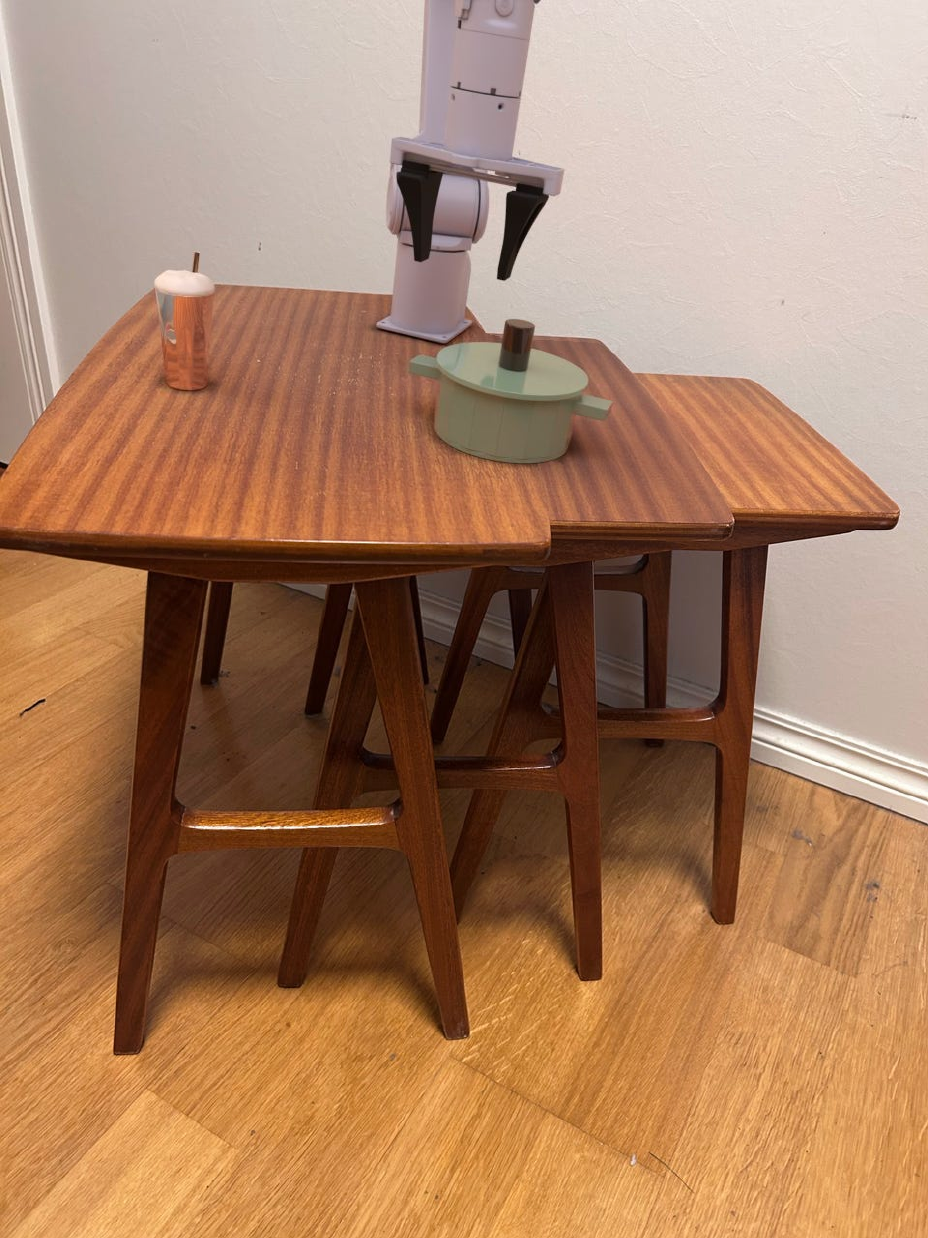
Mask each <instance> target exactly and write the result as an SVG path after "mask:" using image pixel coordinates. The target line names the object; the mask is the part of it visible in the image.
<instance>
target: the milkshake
mask: <svg viewBox="0 0 928 1238" xmlns="http://www.w3.org/2000/svg"><path fill="white" fill-rule="evenodd" d="M200 255H201V252H199V251H194V252H193V260H192V270H191V271H190V270H186V269H183V270H174V269H166V270H165V271H163V272H162V273H160V274H159V275H158V276H157V277H156V278H155V279H154V281H153V287H154V293H155V299H156V306H157V312H158V313H157V314H158V321H159V330H160V340H161V347H162V357H163V364H164V365H163V366H164V375H165V381H166V384H168V386H169V387H170V388H172V389H173V388H174V389H176V390H180V391H196V390H203V389H204V388H205V387H206V386H207V385H208V381H209V366H210V348H211V333H212V320H213V308H214V296H215V288H216V286H215V284H214V282H213V280H211V278H209V276H207V275H205V274H203V273H200V272H199V266H200V265H199V264H200V257H201V256H200Z"/></svg>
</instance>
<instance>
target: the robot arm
mask: <svg viewBox="0 0 928 1238" xmlns="http://www.w3.org/2000/svg"><path fill="white" fill-rule="evenodd" d="M540 2H541V0H424V9H423V32H422V53H421V54H422V55H421V76H420V77H421V79H420V98H419V100H420V101H419V122H418V123H419V125H418V134H417V135H415V136H414V137H412V138H410V137H404V136H396V137H395V136H394V137H392V138H391V142H390V143H391V144H390V153H389V163H390V165H389V178H388V184H387V190H386V202H385V203H386V204H385V222H386V223H385V224H386V228H387V229H388V230H389V232H390V234H391V235H395V236H396V238H397V244H396V257H395V268H394V276H393V277H394V278H393V288H392V297H391V309H390V315H388V316H387V317H384V318H383V319H381V320H379V321H377V322H376V325H375V326H376V328H378V329H381V330H385V331H389V332H393V333H398V334H402V335H407V336H411V337H415V338H419V339H423V340H427V341H431V342H435V343H440V344H448V342H450V341H451V340H453V339H454V338H456V337H457V336H458V335H459V334H462V332H464V331H465V330H466V329H468V328H469V327H471V326H472V325H473V320H471V319H467V318H465V315H466V311H467V310H466V309H467V302H468V294H469V287H470V280H471V272H472V261H471V256H470V255H469V252H470V251H472V244H473V245H476V244H477V243H478V242H479V241H480V240H481V239H482V238H483V237H484V235H485V232H486V229H487V224H488V219H489V211H490V189H489V183H492V184H499V185H504V186H508V187H512V188H515V190H514V189H513V190H511V191H508V192H506V196H505V214H504V215H505V216H504V229H503V236H502V237H503V238H502V244H501V249H500V254H499V259H498V264H497V271H496V280H499V281H501V282H505V281H507V280H509V279H510V278H511V276H512V272H513V269H514V266H515V263H516V260H517V257H518V255H519V252H520V250H521V248H522V246H523V244H524V242H525V239H526V237H527V236H528V234H529V232H530V230H531V228H532V227H533V225H534V223H535V222H536V220H537V219H538V216H540V214H541V212H542V210H543V209H544V207H545V206H546V204H547V202H548V201H549V198H550V197H556V196H559V195H560V194H561V191H562V186H563V180H564V176H565V175H564V174H565V168H562V167H557V166H552V165H548V164H544V163H540V162H536V161H531V160H528V159H524V158H520V157H516V156H513V153H514V148H515V141H516V133H517V128H518V127H517V126H518V120H519V113H520V107H521V101H522V96H523V95H522V92H523V88H524V83H525V82H524V80H525V75H526V69H527V63H528V55H529V48H530V41H531V35H532V28H533V22H534V15H535V9H536V7H535V6H536V5H538V4H539V3H540ZM489 171H490V172H494V174H491V173H488V172H489ZM488 182H489V183H488ZM468 251H469V252H468Z"/></svg>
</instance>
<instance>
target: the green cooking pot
mask: <svg viewBox="0 0 928 1238" xmlns="http://www.w3.org/2000/svg"><path fill="white" fill-rule="evenodd" d="M407 373H408V374H412V375H415V376H419V377H424V378H429V379H432V380H436V381H438V383H437V390H436V391H437V392H436V398H435V409H434V415H433V421H434V423H433V429H434V432H435V434H436V435H437V436H438V437H439V439H440V440H442V441H443V442H444V443H446V444H447V445H449V446H450V447H452V448H454V449H456V450H457V451H461V452H463V453H465V454H468V455H470V456H474V457H477V458H481V459H484V460H490V461H495V462H502V463H507V464H539V463H540V464H541V463H545V462H546V463H547V462H550V461H554V460H557V459H559V458H560V457H562V456H563V455H565V453H566V452H567V451H568V448H569V445H570V443H571V441H572V440H571V439H572V435H573V430H574V426H575V421H576V416H582V417H585V418H589V419H593V420H598V421H602V422H606V420H607V418H608V417H609V415H610V413H611V411H612V407H613V400H611V399H605V398H602V397H597V396H593V395H589V394H585V393H583V394H581V395H579V396H577V397H574V398H570V399H566V400H558V401H528V400H518V399H511V398H505V397H500V396H495V395H491V394H487V393H483V392H480V391H477V390H474V389H471V388H468V387H466V386H463V385H461V384H459V383H457V382H455V381H453V380H451V379H449V378H448V377H446V376H445V375H444V374H442V373H441V372H440V371H439V369H438V368H437V365H436V357H434V356H429V355H426V354H425V355H424V354H417V355H415V357H413V358H412V359H411V360H409V362H408V372H407Z"/></svg>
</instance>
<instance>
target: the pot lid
mask: <svg viewBox="0 0 928 1238" xmlns="http://www.w3.org/2000/svg"><path fill="white" fill-rule="evenodd" d="M535 330H536V324H534V323H532V322H531V321H528V320H524V319H520V318H509V319H506V320H505V321H504V326H503V331H502V338H501V342H492V341H491V342H490V341H471V342H469V341H468V342H459V343H455V344H450V345H447V346H446V347H443V348H441V349H440V350H439V351H438V352H437V354H436V357H435V358H436V365H437V368H438V369H439V371H440V372H441V373H442V374H444V375H445V376H446V377H448V378H449V379H451V380H453V381H455V382H457V383H459V384H461V385H463V386H466V387H468V388H471V389H474V390H477V391H480V392H483V393H487V394H491V395H495V396H500V397H505V398H511V399H518V400H528V401H558V400H566V399H570V398H574V397H577V396H579V395H581V394H585V392H586V391H587V389H588V386H589V376H588V375H587V373H586V372H585V371H584V370H583V369H582V368H581V367H579V366H578V365H576V364H575V363H573V362H571V361H569V360H567V359H565V358H562V357H561V356H558V355H555V354H552V353H549V352H547V351H546V352H545V351H542V350H539V349H535V348H532V347H533V341H534V335H535Z"/></svg>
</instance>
